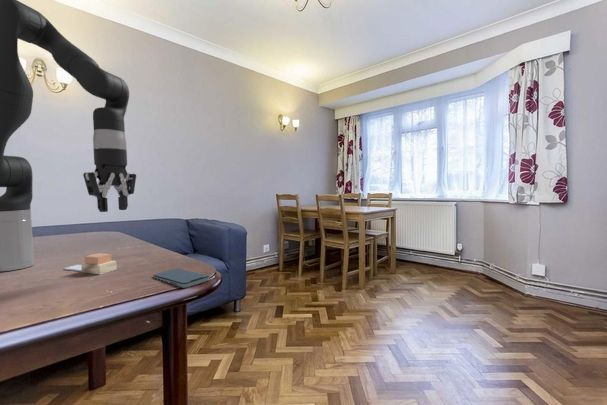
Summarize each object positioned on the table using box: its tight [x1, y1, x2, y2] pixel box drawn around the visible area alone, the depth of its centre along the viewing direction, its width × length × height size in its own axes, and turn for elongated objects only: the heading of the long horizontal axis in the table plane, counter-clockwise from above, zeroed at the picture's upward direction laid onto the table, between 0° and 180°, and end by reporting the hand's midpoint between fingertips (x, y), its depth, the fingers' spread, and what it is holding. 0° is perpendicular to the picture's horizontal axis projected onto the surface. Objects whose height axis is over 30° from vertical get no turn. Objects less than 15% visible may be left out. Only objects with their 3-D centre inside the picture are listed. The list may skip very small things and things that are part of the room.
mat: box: [63, 264, 83, 273], centre depth 86 cm, size 8×4×1 cm, turn 72°
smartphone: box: [152, 268, 210, 289], centre depth 76 cm, size 8×2×15 cm
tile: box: [84, 252, 113, 265], centre depth 83 cm, size 5×4×2 cm
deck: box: [80, 260, 118, 275], centre depth 84 cm, size 7×5×2 cm
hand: (113, 210), depth 81 cm, fingers open, 5 cm apart
